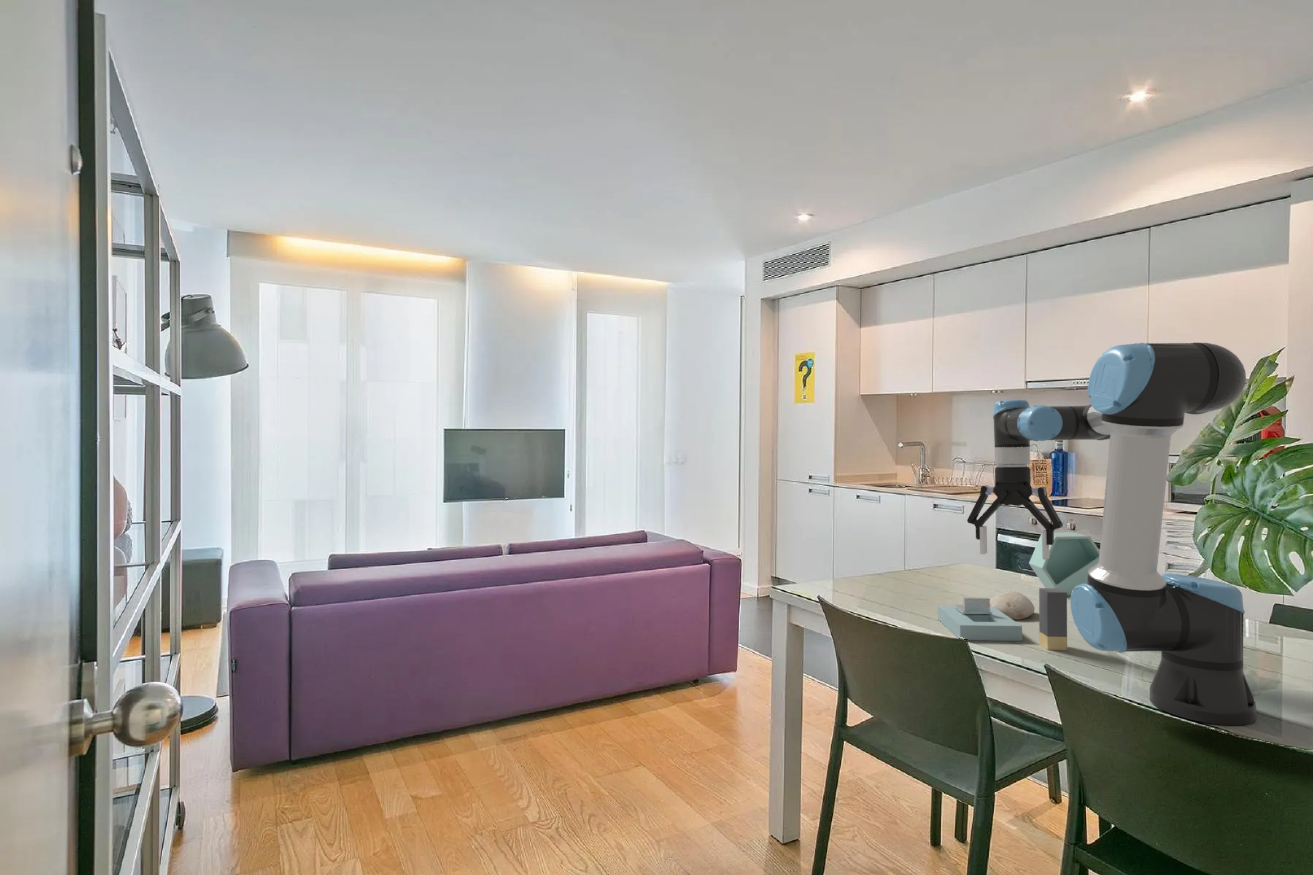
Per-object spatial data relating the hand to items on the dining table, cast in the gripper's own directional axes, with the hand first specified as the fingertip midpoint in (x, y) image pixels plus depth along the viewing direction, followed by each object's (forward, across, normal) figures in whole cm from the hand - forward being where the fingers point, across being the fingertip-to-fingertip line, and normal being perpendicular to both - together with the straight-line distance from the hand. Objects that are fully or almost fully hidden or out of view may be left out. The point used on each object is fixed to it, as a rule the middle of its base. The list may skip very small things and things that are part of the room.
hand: (1014, 556), depth 169 cm
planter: (+19, +2, -61) cm, 64 cm away
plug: (+20, -8, 0) cm, 21 cm away
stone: (+20, +8, -24) cm, 32 cm away
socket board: (+20, +10, -4) cm, 22 cm away
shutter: (+16, +12, -7) cm, 21 cm away
